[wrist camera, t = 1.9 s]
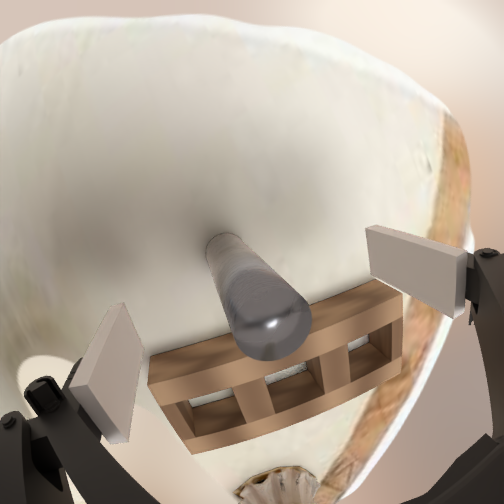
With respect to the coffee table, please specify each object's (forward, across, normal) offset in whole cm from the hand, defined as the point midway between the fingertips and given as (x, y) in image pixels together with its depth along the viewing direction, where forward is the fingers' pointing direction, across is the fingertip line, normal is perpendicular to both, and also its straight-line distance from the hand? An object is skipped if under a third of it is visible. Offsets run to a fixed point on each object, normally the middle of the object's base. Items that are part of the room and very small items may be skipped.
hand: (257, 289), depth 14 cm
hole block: (+8, +2, -11) cm, 14 cm away
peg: (+8, 0, 0) cm, 8 cm away
